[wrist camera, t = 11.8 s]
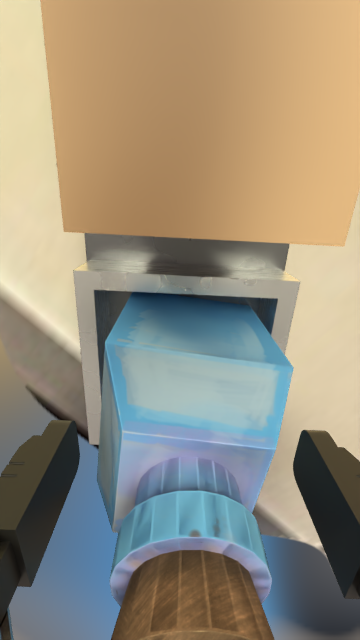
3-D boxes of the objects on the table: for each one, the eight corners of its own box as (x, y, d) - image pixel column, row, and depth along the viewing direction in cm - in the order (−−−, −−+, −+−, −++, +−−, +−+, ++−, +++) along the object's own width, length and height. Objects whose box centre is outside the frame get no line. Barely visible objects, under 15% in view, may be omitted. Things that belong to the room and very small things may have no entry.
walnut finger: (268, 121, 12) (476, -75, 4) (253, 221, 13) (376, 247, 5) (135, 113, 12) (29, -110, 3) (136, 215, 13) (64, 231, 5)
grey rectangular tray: (374, -290, 9) (510, -639, 5) (250, 403, 19) (267, 450, 16) (58, -320, 9) (-30, -704, 5) (103, 397, 19) (85, 444, 15)
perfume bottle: (225, 399, 17) (307, 746, 6) (124, 387, 17) (20, 733, 6) (249, 305, 15) (451, 591, 4) (133, 288, 15) (-9, 551, 4)
